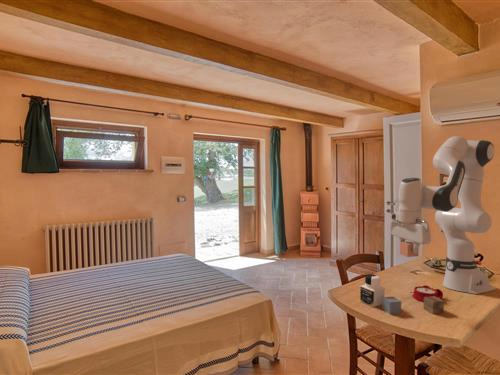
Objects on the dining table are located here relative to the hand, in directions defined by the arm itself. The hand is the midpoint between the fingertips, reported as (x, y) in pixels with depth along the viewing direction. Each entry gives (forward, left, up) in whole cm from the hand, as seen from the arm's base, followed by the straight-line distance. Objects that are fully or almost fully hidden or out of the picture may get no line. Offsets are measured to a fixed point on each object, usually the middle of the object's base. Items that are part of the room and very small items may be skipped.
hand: (409, 250), depth 132 cm
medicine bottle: (+12, -7, -24) cm, 28 cm away
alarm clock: (-16, -8, -24) cm, 30 cm away
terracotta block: (0, 0, -2) cm, 2 cm away
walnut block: (-8, +5, -24) cm, 26 cm away
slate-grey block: (+9, +2, -24) cm, 26 cm away
